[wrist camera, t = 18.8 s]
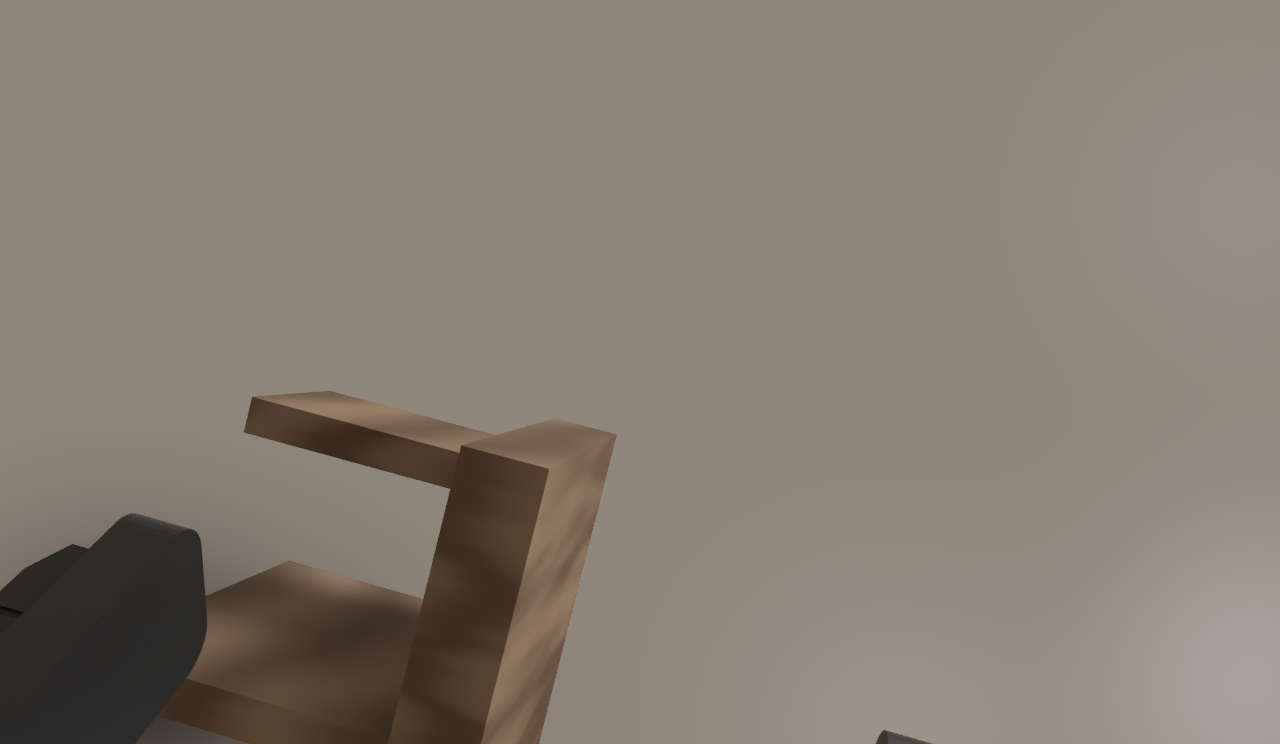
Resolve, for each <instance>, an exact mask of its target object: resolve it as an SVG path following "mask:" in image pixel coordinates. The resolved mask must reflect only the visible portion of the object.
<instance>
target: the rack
mask: <svg viewBox="0 0 1280 744" xmlns="http://www.w3.org/2000/svg"><path fill="white" fill-rule="evenodd" d="M244 432H245V433H248V434H252V435H256V436H259V437H263V438H267V439H270V440H274V441H278V442H281V443H285V444H288V445H292V446H296V447H299V448H303V449H307V450H310V451H314V452H318V453H322V454H325V455H329V456H332V457H336V458H340V459H343V460H347V461H351V462H354V463H358V464H362V465H365V466H369V467H372V468H377V469H380V470H383V471H387V472H391V473H394V474H398V475H402V476H405V477H409V478H413V479H416V480H420V481H424V482H427V483H431V484H435V485H439V486H442V487H446V488H449V489H451V490H450V493H449V498H448V502H447V505H446V509H445V514H444V518H443V522H442V526H441V530H440V534H439V538H438V542H437V546H436V550H435V554H434V558H433V562H432V567H431V570H430V575H429V578H428V583H427V587H426V591H425V595H424V599H421V598H417V597H414V596H410V595H407V594H403V593H399V592H396V591H392V590H389V589H386V588H382V587H378V586H375V585H372V584H368V583H365V582H361V581H358V580H354V579H350V578H347V577H344V576H340V575H336V574H333V573H330V572H326V571H323V570H319V569H316V568H312V567H309V566H305V565H302V564H298V563H295V562H291V561H288V562H285V563H283V564H281V565H278V566H276V567H273V568H271V569H269V570H266V571H264V572H262V573H259V574H257V575H254V576H252V577H250V578H248V579H245V580H243V581H240V582H238V583H236V584H233V585H231V586H229V587H226V588H224V589H221V590H219V591H217V592H214V593H212V594H210V595H207V596H205V599H206V612H207V632H206V637H205V641H204V644H203V647H202V650H201V653H200V655H199V657H198V660H197V662H196V664H195V666H194V667H193V669H192V671H191V672H190V674H189V675H188V676H187V678H186V679H185V680H184V682H183V683H182V684H181V686H180V687H179V688H178V689H177V691H176V692H175V693H174V695H173V696H172V697H171V698H170V700H169V701H168V702H167V704H166V705H165V706H164V707H163V709H162V710H161V711H160V713H159V714H158V715H157V716H161V717H164V718H167V719H171V720H174V721H177V722H181V723H184V724H187V725H190V726H193V727H197V728H200V729H203V730H206V731H210V732H213V733H216V734H219V735H223V736H226V737H229V738H232V739H236V740H239V741H243V742H245V743H249V744H539V741H540V737H541V733H542V729H543V725H544V721H545V717H546V713H547V708H548V705H549V701H550V697H551V693H552V689H553V685H554V681H555V677H556V673H557V669H558V665H559V661H560V657H561V653H562V650H563V646H564V641H565V637H566V634H567V629H568V626H569V622H570V618H571V614H572V610H573V606H574V602H575V598H576V594H577V590H578V586H579V582H580V578H581V574H582V570H583V566H584V562H585V558H586V554H587V550H588V546H589V542H590V538H591V534H592V530H593V526H594V522H595V518H596V514H597V510H598V507H599V503H600V499H601V495H602V491H603V487H604V483H605V478H606V474H607V471H608V467H609V463H610V459H611V455H612V451H613V446H614V443H615V439H616V434H612V433H609V432H604V431H601V430H597V429H594V428H590V427H585V426H582V425H578V424H574V423H571V422H567V421H563V420H559V419H556V418H555V419H552V420H549V421H545V422H542V423H538V424H534V425H531V426H527V427H524V428H520V429H516V430H513V431H509V432H506V433H503V434H499V435H492V434H489V433H485V432H481V431H477V430H474V429H469V428H466V427H463V426H459V425H455V424H451V423H447V422H443V421H440V420H436V419H432V418H429V417H425V416H421V415H418V414H414V413H410V412H406V411H403V410H399V409H395V408H391V407H387V406H384V405H380V404H376V403H373V402H368V401H365V400H361V399H357V398H354V397H350V396H346V395H343V394H339V393H335V392H331V391H324V392H311V393H297V394H284V395H272V396H271V395H270V396H257V397H252V400H251V405H250V409H249V413H248V418H247V421H246V425H245V430H244Z"/></svg>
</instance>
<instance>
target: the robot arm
mask: <svg viewBox="0 0 1280 744" xmlns="http://www.w3.org/2000/svg"><path fill="white" fill-rule="evenodd" d="M206 632H207V612H206V599H205V586H204V574H203V561H202V549H201V541H200V537H199V535H198V533H197V532H196V531H194V530H192V529H188V528H185V527H181V526H178V525H174V524H171V523H167V522H164V521H160V520H157V519H153V518H150V517H146V516H143V515H139V514H129V515H126V516H124V517H122V518H121V519H119V520H118V521H117V522H116V523H115V524H114V525H113V526H112V527H111V528H110V529H109V530H108V531H107V532H106V533H105V534H104V535H103V536H102V537H101V538H100V539H99V540H98V541H97V542H95V543H94V544H93V545H92V546H91V547H90V548H89V549H87V548H84V547H80V546H77V545H74V544H72V545H70V546H68V547H66V548H64V549H62V550H60V551H58V552H56V553H54V554H52V555H50V556H48V557H46V558H44V559H42V560H40V561H38V562H36V563H34V564H32V565H30V566H28V567H26V568H25V569H24V570H22V571H21V572H20V573H19V574H18V575H17V576H16V577H15V578H14V579H13V580H12V581H11V582H9V583H8V584H7V585H6V586H5V587H4V588H3V589H2V590H1V591H0V744H135V743H136V742H137V740H138V739H139V738H140V737H141V736H142V734H143V733H144V732H145V730H146V729H147V728H148V727H149V725H150V724H151V723H152V721H153V720H154V719H155V718H156V716H157V715H158V714H159V713H160V711H161V710H162V709H163V707H164V706H165V705H166V704H167V702H168V701H169V700H170V698H171V697H172V696H173V695H174V693H175V692H176V691H177V689H178V688H179V687H180V686H181V684H182V683H183V682H184V680H185V679H186V678H187V676H188V675H189V674H190V672H191V671H192V669H193V667H194V666H195V664H196V662H197V660H198V657H199V655H200V653H201V650H202V647H203V644H204V641H205V637H206ZM876 744H931V743H927V742H924V741H921V740H917V739H914V738H910V737H907V736H903V735H899V734H896V733H893V732H889V731H886V730H884V731H883V732H882V733H881V734H880V736H879V738H878V740H877V742H876Z"/></svg>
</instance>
